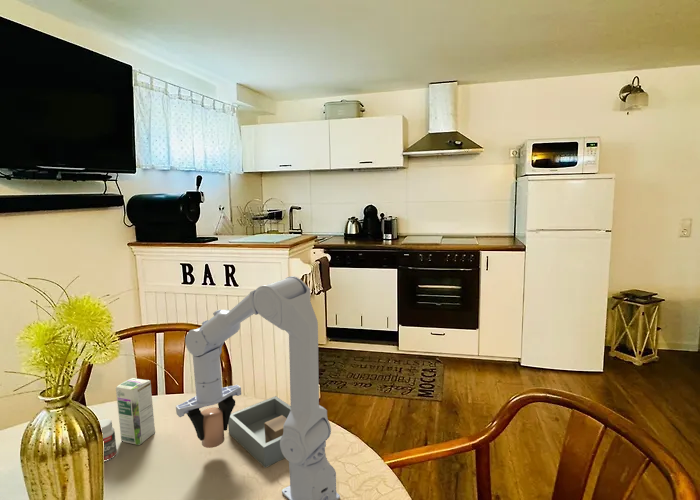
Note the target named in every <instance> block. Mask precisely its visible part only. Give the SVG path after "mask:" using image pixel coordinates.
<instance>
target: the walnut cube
mask: <svg viewBox="0 0 700 500" xmlns="http://www.w3.org/2000/svg"><path fill="white" fill-rule="evenodd" d="M286 419H287V418H286V417H284V416H283V415H281V416H279V417H277V418H274V419H272V420H270V421H267V422H265V423H264V425H265V442H266V443H268V442H270V441H272V440H274V439H276V438H278V437H280V436H282V435H283V426H284V423H285V421H286Z"/></svg>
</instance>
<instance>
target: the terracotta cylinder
mask: <svg viewBox="0 0 700 500" xmlns="http://www.w3.org/2000/svg"><path fill="white" fill-rule="evenodd" d="M201 413H202V414H203V415H204V418H203V431H204V440H202V441H201V445H202V446H203V447H204V448H207V449H212V448H216V447H219V446H220V445H222V444H223V443H224V441H225V431H224V426H223V413H222V409H220V408H219V407H209V408H205V409H203V410H202V411H201Z"/></svg>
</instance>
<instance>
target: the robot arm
mask: <svg viewBox="0 0 700 500" xmlns="http://www.w3.org/2000/svg"><path fill="white" fill-rule="evenodd" d="M212 315H213V316H212V317H211V318H210V319H207V320H204V321H203V322H202V323H201V326H200V327H198V328H196V329H195V328H194V329H190V330H189V331H188V332H187V334H186V336H185V346H186V349H187V351H188V352H189V353H190V354H191V355H192V365H193V373H194V385H195V388H194V389H195V396H193V397H191V398H189V399H187V400H186V401H183V402H181V403H180V404H177V405H175V411H176V412H175V414H176V415H177V416H178V418H182V417H184V416H185V415H187V416H188V418H189V420H190V421H191V423H192V425H193V427H194V430H195V433H196V436H197V438H198V439H199V440H200V441H201V442H202V440H204V431H203V418H204V415H203V414H202V413H201V412H202V411H201V410H200V409H201V408H202V409H203V408H205V407H206V408H207V407H209V406H213V405H217V408H220V409H222V413H223V426H224V432H225V431H228V422H229V418H230V415H231V413H233V410H234V408H235V406H236V399H234V397H235V396H236V397H237V396H241V395H242V387H241V386H240V385H239V384H234V385H229V386H225V387H223V380H222V367H221V354H222V353H223V351H222V350H223V349H222V348H223V345H224V344H225V342H226V341H227V340H228V339H230V338H232V337H233V336H234V335H235V334H237V333H238V332H239V330H240V329H241V323H243V322H244V321H246V320H247V319H248V318H250V317H252V316H253V315H259V316H261V317H262V318H263V319H265V320H266V321H268V322H269V323H271V324H272V325H274V326H276V327H277V328H278V329H280V330H282V331H285V332H286V333H287V334H288V349H289V351H288V353H289V355H288V357H289V389H290V390H289V392H290V393H289V395H290V398H289V399H290V406H291V411H290V413H289V415H288V417H287V419H286V421H285V423H284V426H283V435H282V437H281V440H280V448H281V451H282V454H283V455H284V457H285V458H284V459H286V461H287V462H288V468H289V485H288V486H286V487H284V488H283V489H281V493H282V494H283V495H284V497H286V498H287V499H288V500H340V498H341V496H340V494H339V493H338V492H337V472H336V469H335V468H334V466H333V465H331V463H330V462H329V460H328V458H327V455H326V447H327V444H326V443H327V440H329V438H330V436H331V435H332V427H331V423H330V421H329V419H328V410H327V409H326V408H325V407H324V406H322V405H320V402H319V401H320V391H319V390H320V389H319V387H320V386H319V385H320V384H319V381H320V380H319V324H318V323H319V322H318V319H317V316H316V314H315V310H314V308H313V305H312V302H311V288H310V287H309V286H308V285H307V284H306V283H305V282H304V281H303V280H302V279H301V278H299V277H298V276H293V275H292V276H287V277H286V278H284V279H281V280H277V281H275V282H271V283H267V284H262V285H260V286H258V287H257V288H256V289H254V290H252V291H250V292H249V293H248V295H246V296H245V297H244V298H243V299H241V301H239V302H238V303H237V304H235V306H233V307H232V308H231V309H218V310H215V311H214V312H212Z"/></svg>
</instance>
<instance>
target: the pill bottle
mask: <svg viewBox="0 0 700 500" xmlns="http://www.w3.org/2000/svg"><path fill="white" fill-rule="evenodd" d="M98 421H99V422H100V425H101V428H102V433H103V441H104V460H107V459H110V458H112V457H113V456H115V455H116V456H117V454H118V450H117V444H116V443H117V441H116V434H115V428H114V427H113V422H112V420H111V419H110V418H103V419H99V420H98ZM116 453H117V454H116ZM116 456H115V457H116ZM112 459H113V458H112ZM110 460H111V459H110Z"/></svg>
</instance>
